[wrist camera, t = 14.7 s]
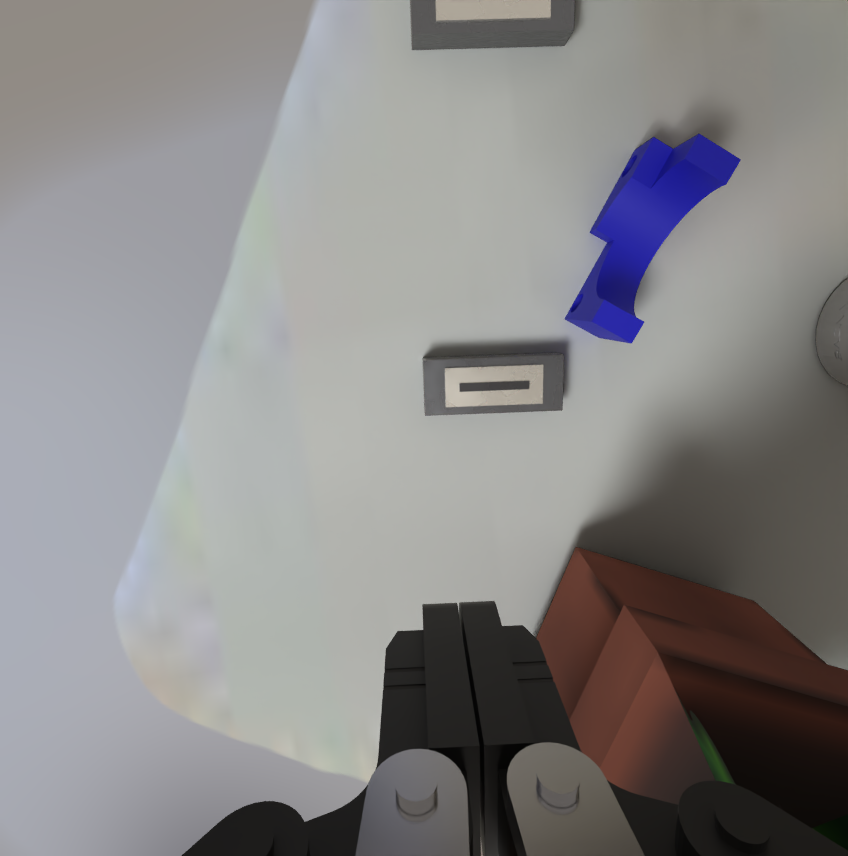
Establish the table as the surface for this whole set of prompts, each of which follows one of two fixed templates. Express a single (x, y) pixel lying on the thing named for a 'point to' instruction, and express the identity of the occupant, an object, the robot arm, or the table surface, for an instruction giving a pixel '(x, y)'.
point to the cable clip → (644, 227)
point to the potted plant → (696, 691)
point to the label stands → (511, 373)
